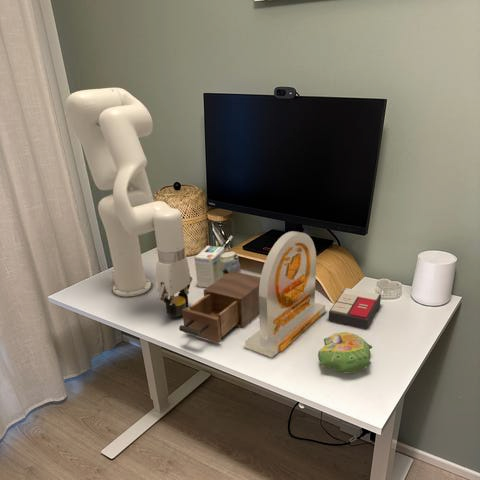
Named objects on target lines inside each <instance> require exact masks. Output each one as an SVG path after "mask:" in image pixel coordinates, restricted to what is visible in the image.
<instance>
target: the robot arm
mask: <svg viewBox="0 0 480 480" xmlns="http://www.w3.org/2000/svg"><path fill="white" fill-rule="evenodd" d="M65 111H66V116H67V120H68V122H69V125H70V128H71V129H72V131H73V132H74V134H75V136H76V137H77V139H78V141H79V143H80V144H81V147H82V150H83V153H84V156H85V159H86V163H87V165H88V169H89V171H90V174H91V177H92V180H93V183H94V184H95V186H96V187H97V188H98V189H99V190H101V191H112V193H111V194H109V195H106V196H104V197H103V198H101V199H100V200H99V202H98V205H97V210H98V214H99V217H100V220H101V222H102V225H103V228H104V231H105V234H106V239H107V243H108V247H109V252H110V258H111V263H112V268H113V271H112V273H111V275H110V276H109V280H111V281H114V284H113V286H112V290H113V291H112V292H113V293H114V294H115V295H116V296H119V297H126V298H127V297H135V296H140V295H143V294H145V293H146V292H149V290H150V289H151V288H152V283H151V281H150V280H149V279H147V278H146V274H145V269H144V263H143V257H142V250H141V245H140V238H139V236H142V235H145V234H148V233H151V232H154V235H155V242H156V250H157V251H156V252H157V258H158V260H157V261H156V266H155V267H156V269H155V273H156V275H155V277H156V289H157V293H158V294H157V297H156V299H157V300H158V301H160V302H163V303H164V304H165V309H166V310H165V311H166V314H167V315H168V316H169V315H170V316H172V317H177V316H176V306H175V304H174V296H175V295H176V294H177V296H182V297H184V298H185V300H186V308H190V305H189V297H188V295H190V294H189V293H190V291H189V290H190V287H191V283H192V282H193V276H191V273H190V272H191V271H190V266H189V261H188V257H187V254H186V249H185V247H186V245H185V238H184V227H183V226H184V225H183V216H182V213H181V211H180V210H179V209H177V208H174V207H171V206H170V205H169V204H168V203H166V202H165V201H163V200H156V201H155V199H154V195H153V193H152V189H151V185H150V182H149V178H148V175H147V171H146V167H147V165H148V160H147V157H146V155H145V152H144V149H143V147H142V144H141V142H140V139H139V138H144V137H148V136H150V135H151V134H152V132H153V127H154V123H153V118H152V116H151V114H150V112H149V110H148V108H147V107H146V106H145V105H144V104H143V103H142V102H141V101H140V100H138V98H136V97H135V96H133V95H132V94H131V93H130V92H129V91H127V90H126V89H124V88H122V87H105V88H104V87H103V88H92V89H91V88H90V89H83V90H77V91H75V92H72V93H71V94H70V95H69V96H67V98H66V100H65ZM97 124H98V125H97ZM128 188H129V189H130V190H128ZM169 299H170V300H169Z"/></svg>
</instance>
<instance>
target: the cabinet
mask: <svg viewBox="0 0 480 480" xmlns="http://www.w3.org/2000/svg"><path fill="white" fill-rule="evenodd" d="M260 278H261V276H258V275H257V276H256V275H252V274H249V273H243V272H241V273H239V272H234V271H230V272H229V273H228V274H226V275H225V276H223V277H222V278H220V279H219V280H217V281H216V282H214V283H213V284H212V285H210V286H209V287H205V288H203V297H204V296H206V295H207V294H213V295H217V296H221V297H225V298H229V299H233V300H237V301H239V313H240V322H239V323H238V324H237V325H235V326H234V327H238V328H244V327H245V326H246V325H247V324H249V322H251V321H252V320H253V319H254V318H255V317H256V316H258V315H259V285H260Z"/></svg>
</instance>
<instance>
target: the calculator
mask: <svg viewBox="0 0 480 480" xmlns="http://www.w3.org/2000/svg"><path fill="white" fill-rule="evenodd" d="M381 299H382V295H381V294H380V293H376V292H372V291H371V292H370V291H365V290H359V289H355V288H347V287H345V288H344V289H343V291H342V292H341V293H340V295H339V296H338V298H337V299H336V300H335V302H334V303H333V305H332V307H330V309H329V311H328V321H329V322H333V323H337V324H340V325H341V324H342V325H347V326H351V327H355V328H356V327H357V328H359V329H360V328H361V329H365V330H366V329H368V327H369V326H370V323H371V322H372V319H373V318H374V316H375V314H376V312H377V311H378V309H379V308H380V306H381Z"/></svg>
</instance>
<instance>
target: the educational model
mask: <svg viewBox="0 0 480 480" xmlns="http://www.w3.org/2000/svg"><path fill="white" fill-rule="evenodd" d="M323 342H324V343H323V344H324V346H323V347H322V348H320V349H319V350H318V354H317V357H318V361H319V365H320V366H322V367H325V368H326V369H330V370H332V371H336V372H339V373H345V374H350V373H357V372H360V371H362V370H364V369H365V368H367V367H368V366H370V365H371V364H372V361H371V356H372V354H371V349H372V348H373V346H372V345H370V344H369V343H368V342H367V341H366V340H365V339H364V338H362V337H361V336H359V335H357V334H354V333H351V332H347V331H344V332H336V333H334V334H331V335H330V336H328V337H325V338H323Z"/></svg>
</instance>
